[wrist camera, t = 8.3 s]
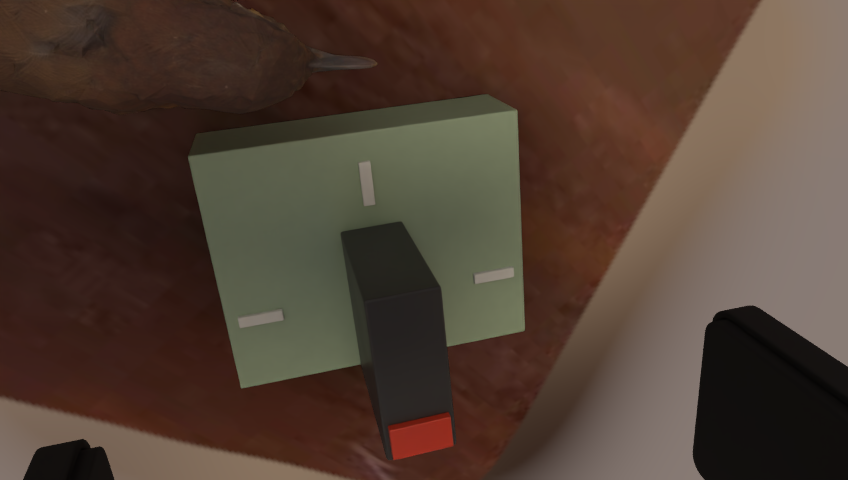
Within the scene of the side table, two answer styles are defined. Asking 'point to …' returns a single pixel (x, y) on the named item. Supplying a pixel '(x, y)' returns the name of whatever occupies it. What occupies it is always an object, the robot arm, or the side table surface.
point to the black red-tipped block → (400, 339)
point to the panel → (358, 224)
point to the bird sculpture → (155, 55)
